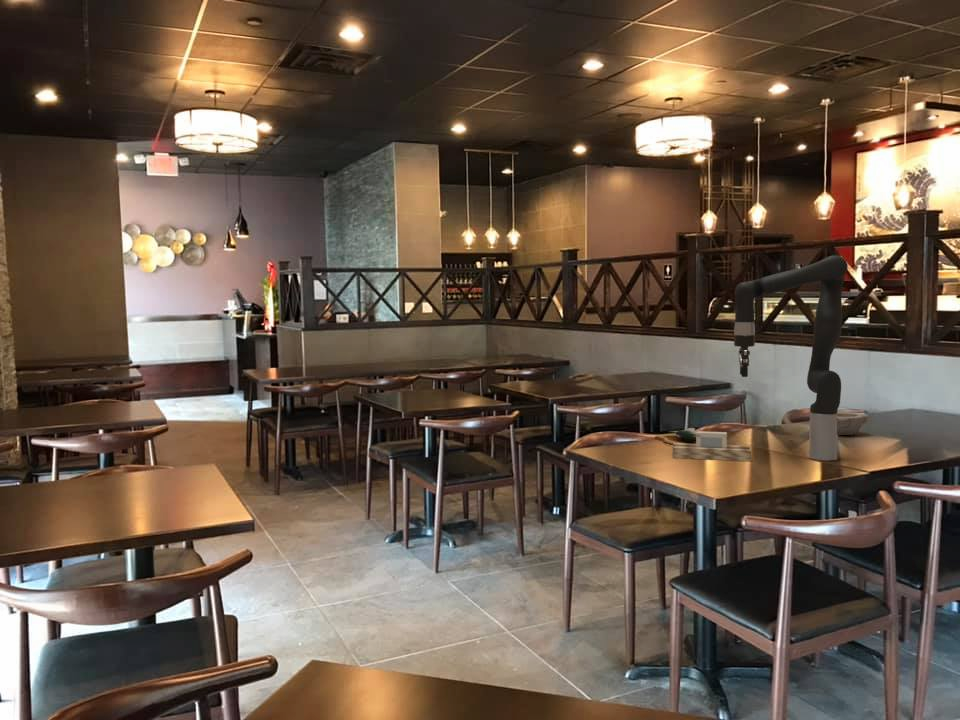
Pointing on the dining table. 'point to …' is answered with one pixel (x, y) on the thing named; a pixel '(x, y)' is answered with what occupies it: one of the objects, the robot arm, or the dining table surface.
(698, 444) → the tapered grey panel
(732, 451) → the picture ledge
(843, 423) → the mortar
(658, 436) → the decorative plaque
